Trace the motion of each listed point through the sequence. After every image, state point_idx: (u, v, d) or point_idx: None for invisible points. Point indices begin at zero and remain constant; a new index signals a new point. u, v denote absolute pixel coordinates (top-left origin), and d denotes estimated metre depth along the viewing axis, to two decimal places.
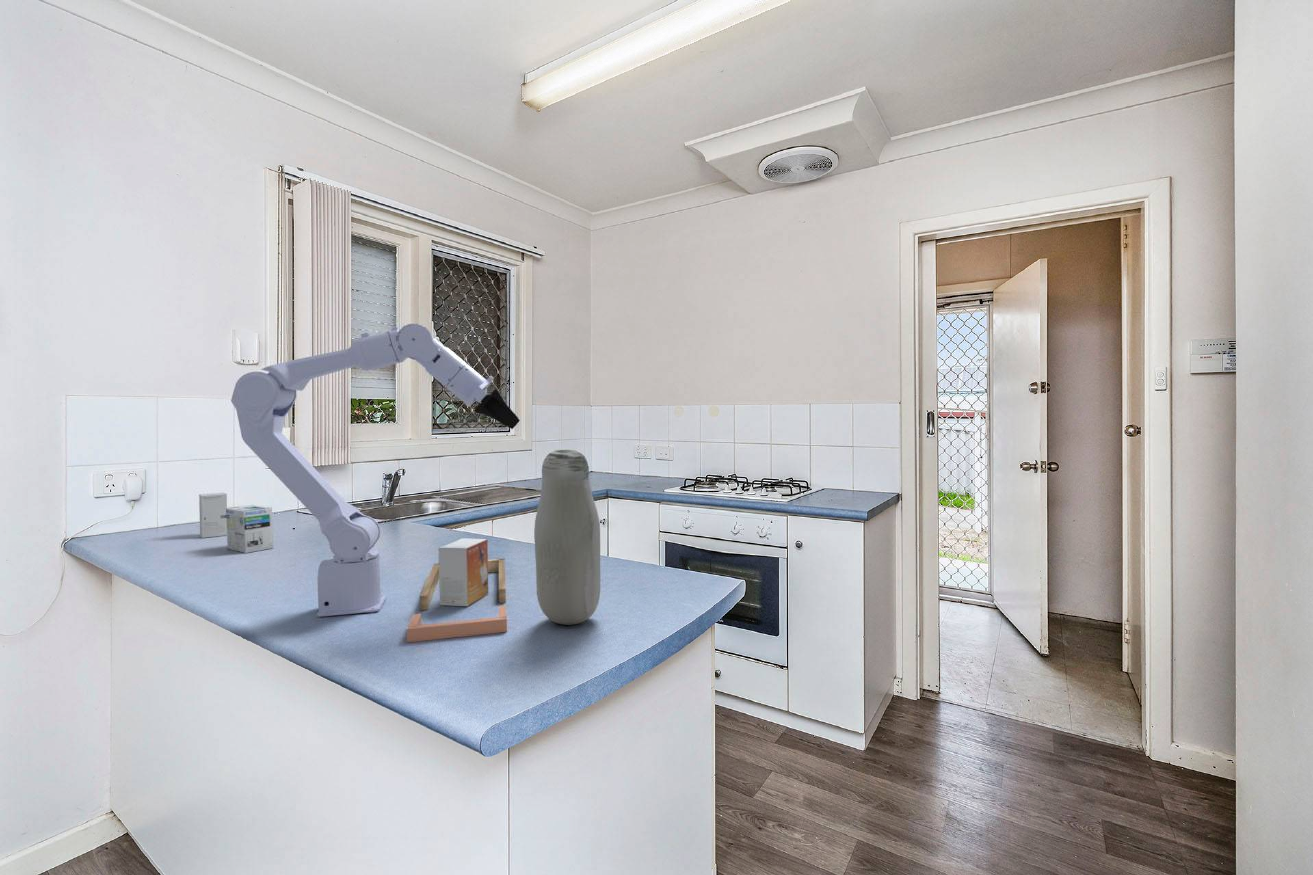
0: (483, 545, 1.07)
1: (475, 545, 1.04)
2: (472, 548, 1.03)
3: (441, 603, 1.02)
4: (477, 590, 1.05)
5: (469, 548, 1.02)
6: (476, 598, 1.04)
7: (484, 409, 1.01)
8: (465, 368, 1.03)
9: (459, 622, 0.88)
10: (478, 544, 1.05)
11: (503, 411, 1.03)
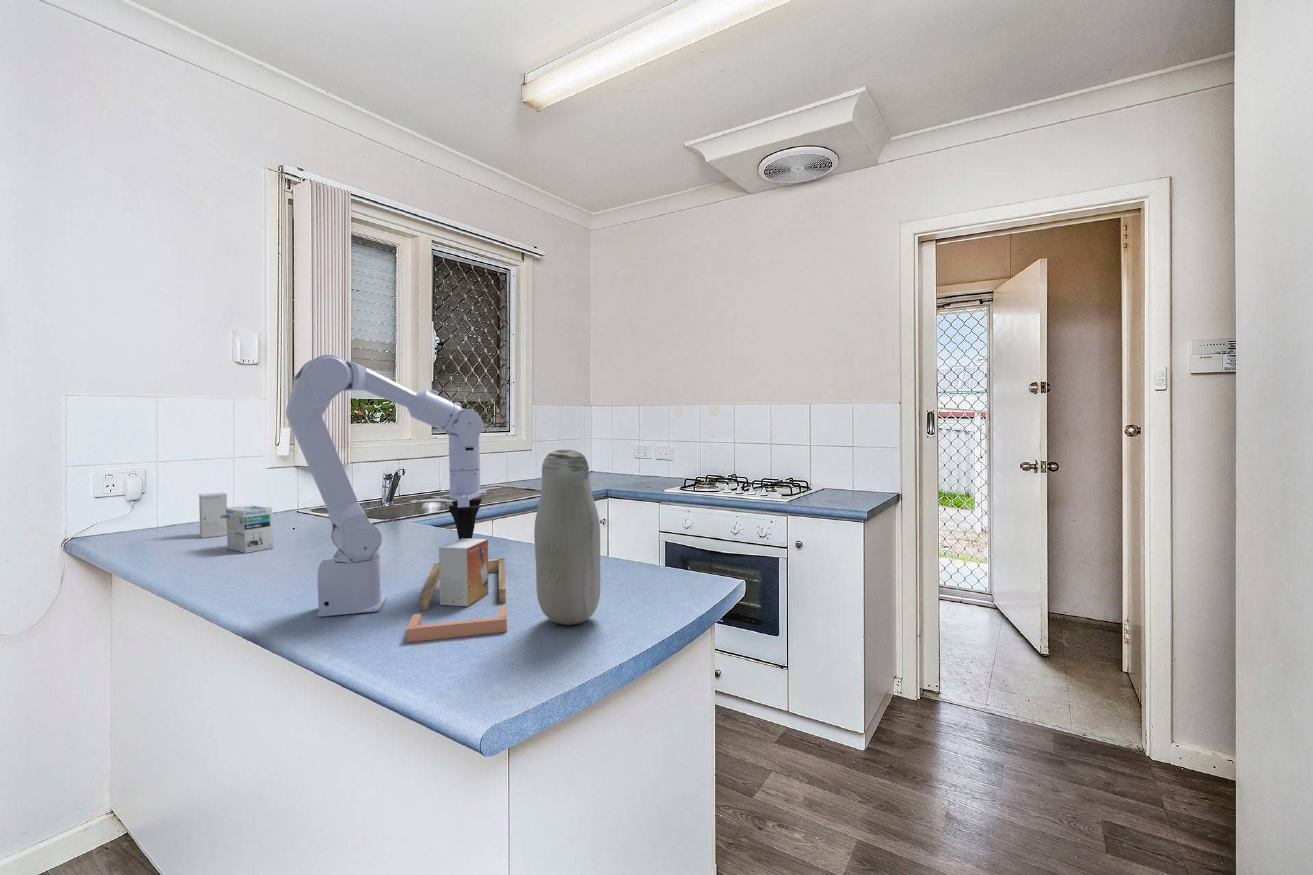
0: (484, 545, 1.07)
1: (475, 545, 1.04)
2: (473, 548, 1.03)
3: (441, 603, 1.02)
4: (477, 590, 1.05)
5: (470, 548, 1.02)
6: (476, 598, 1.04)
7: (456, 513, 1.09)
8: (474, 472, 1.12)
9: (459, 622, 0.88)
10: (478, 544, 1.05)
11: (467, 525, 1.11)
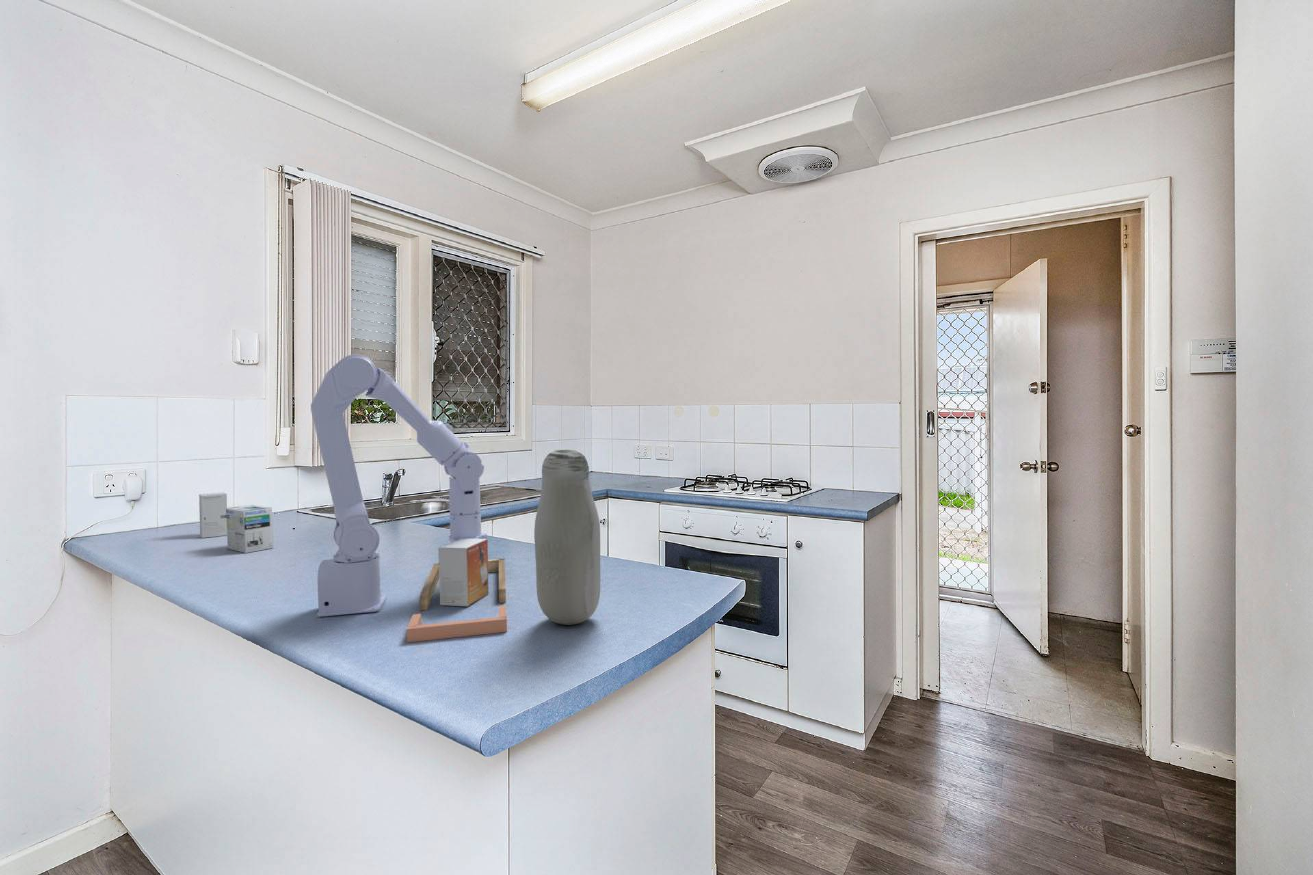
0: (483, 545, 1.07)
1: (475, 545, 1.04)
2: (473, 548, 1.03)
3: (441, 603, 1.02)
4: (477, 590, 1.05)
5: (469, 548, 1.02)
6: (476, 598, 1.04)
7: None
8: (475, 515, 1.11)
9: (459, 622, 0.88)
10: (478, 544, 1.05)
11: None
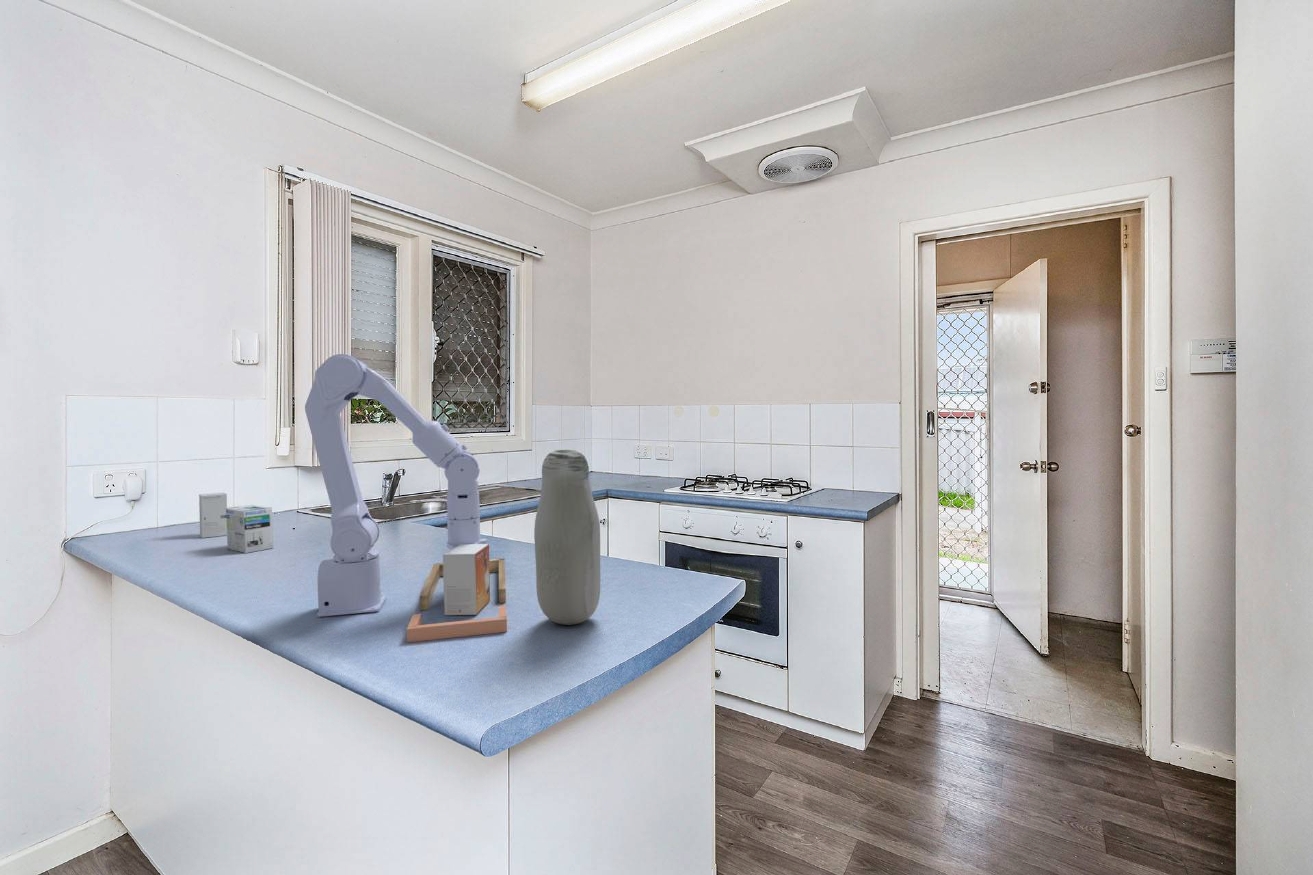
0: (486, 550, 1.03)
1: (481, 550, 1.00)
2: (479, 554, 0.99)
3: (446, 613, 0.97)
4: (482, 597, 1.00)
5: (477, 554, 0.98)
6: (482, 606, 1.00)
7: None
8: (474, 520, 1.05)
9: (459, 622, 0.88)
10: (483, 549, 1.01)
11: None
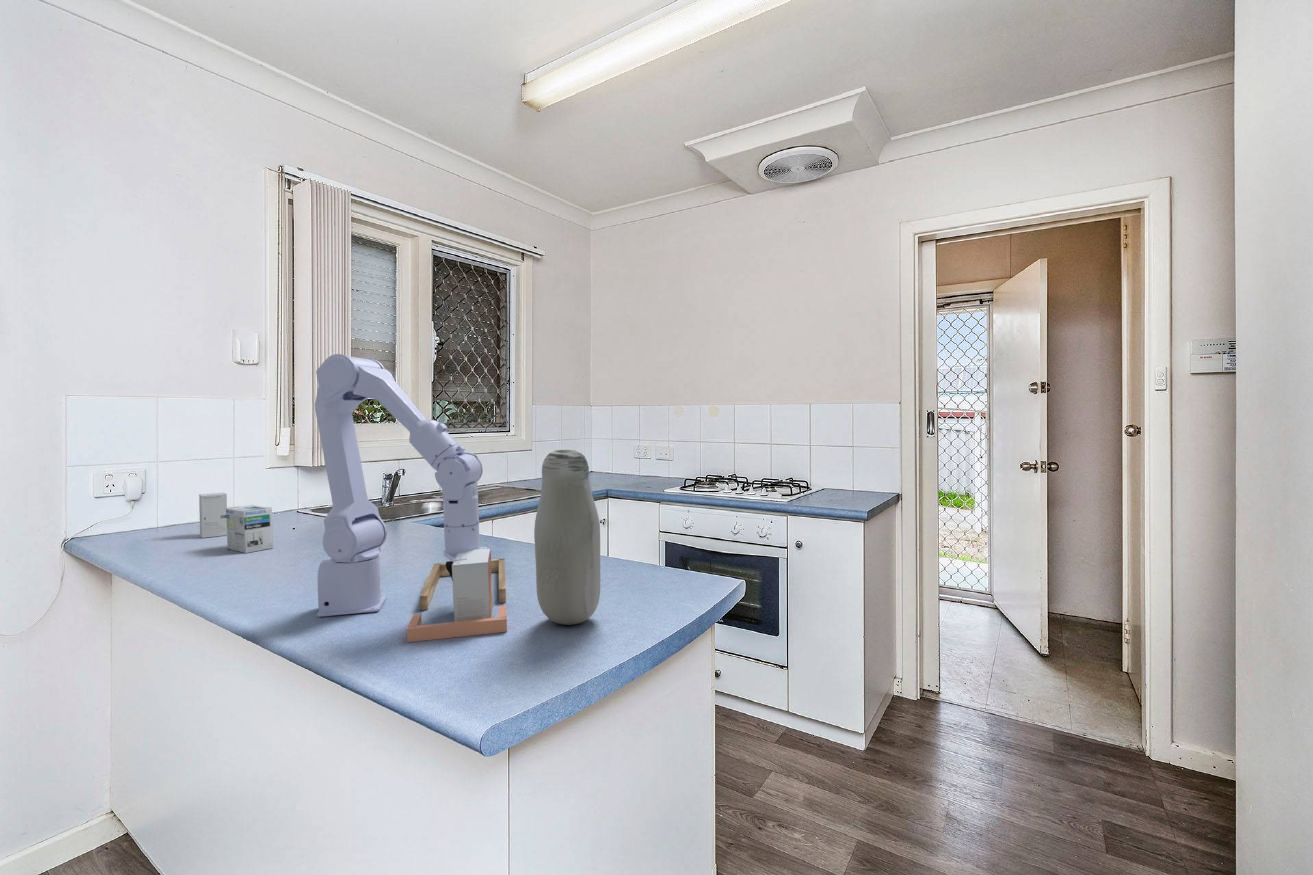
0: (490, 555, 0.97)
1: (489, 557, 0.94)
2: (489, 561, 0.93)
3: None
4: None
5: (488, 561, 0.92)
6: None
7: None
8: (473, 527, 0.98)
9: (459, 622, 0.88)
10: (489, 555, 0.95)
11: None
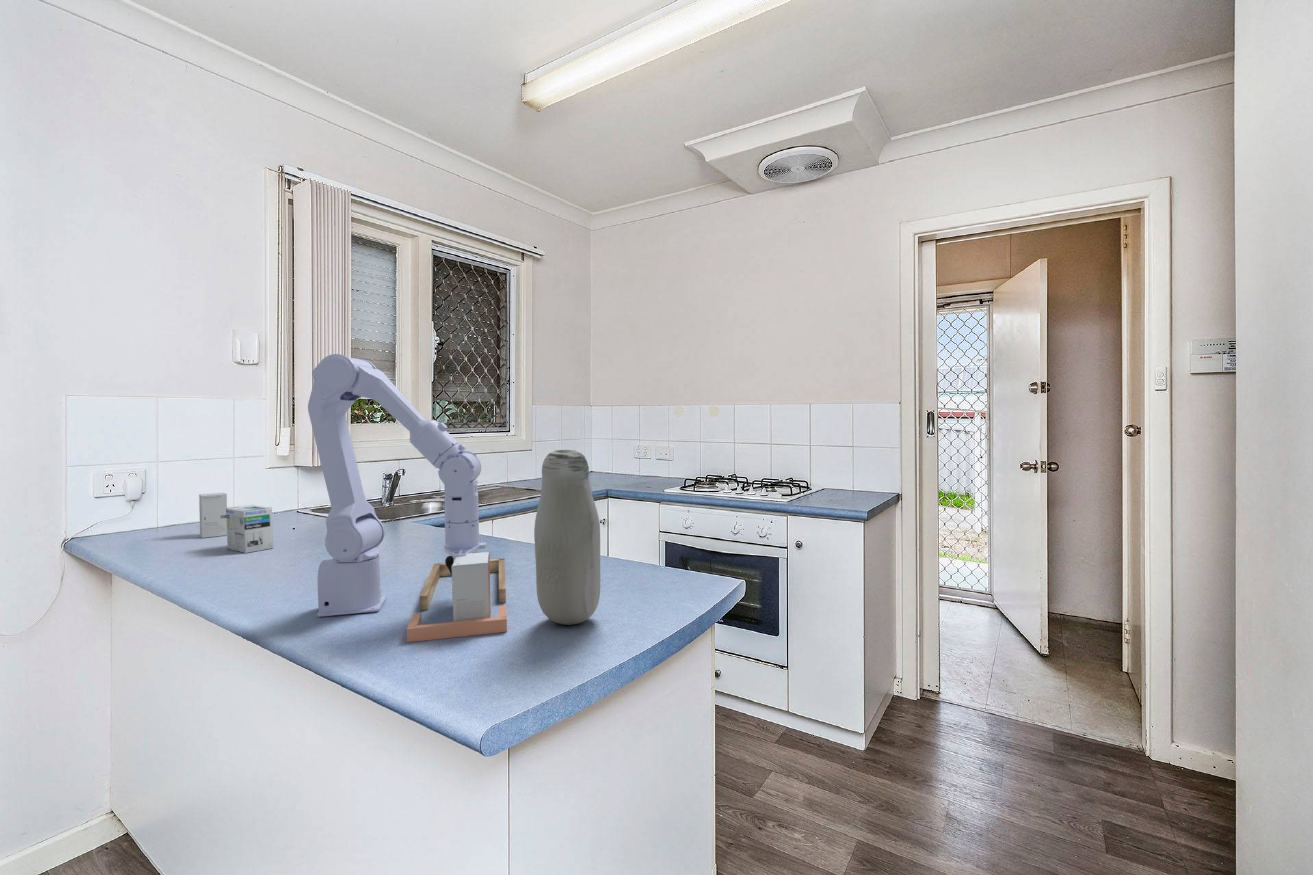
0: (489, 558, 0.97)
1: (488, 559, 0.94)
2: (488, 562, 0.93)
3: None
4: None
5: (488, 562, 0.92)
6: None
7: None
8: (473, 524, 1.01)
9: (459, 622, 0.88)
10: (488, 558, 0.95)
11: None
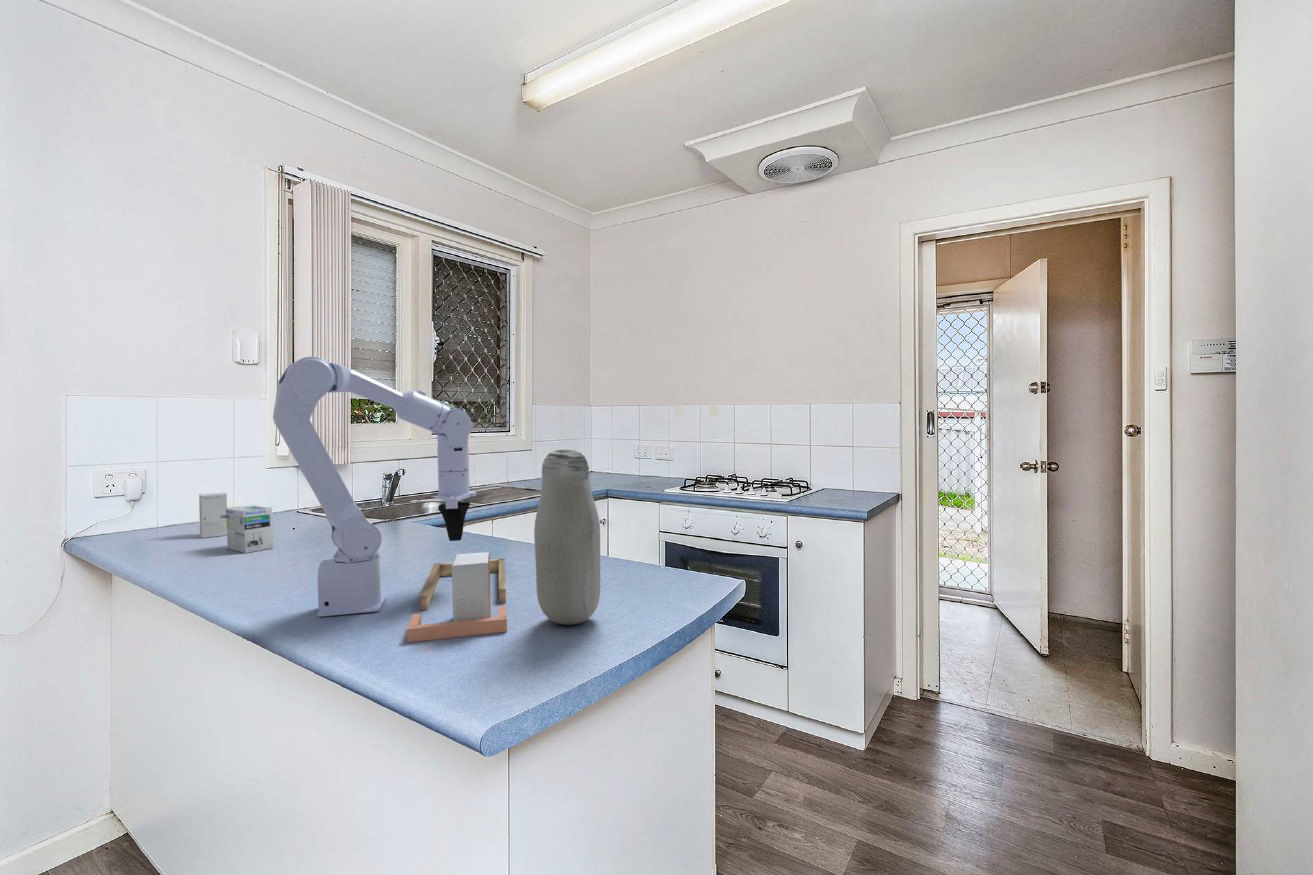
0: (489, 558, 0.97)
1: (488, 559, 0.94)
2: None
3: None
4: None
5: (488, 562, 0.92)
6: None
7: (445, 512, 1.10)
8: (463, 473, 1.11)
9: (459, 622, 0.88)
10: (489, 558, 0.95)
11: (456, 524, 1.12)
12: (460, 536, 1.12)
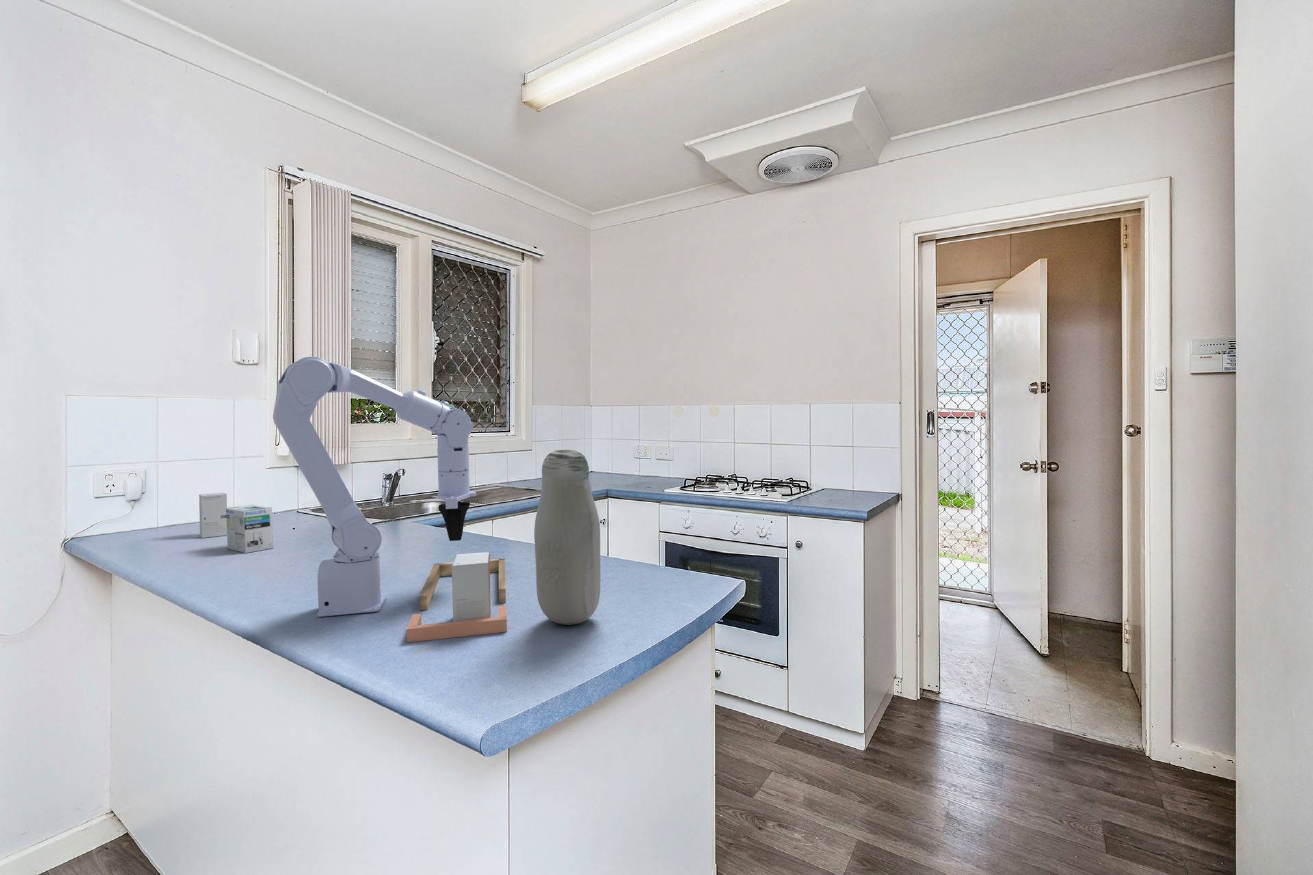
0: (489, 558, 0.97)
1: (488, 559, 0.94)
2: None
3: None
4: None
5: (488, 562, 0.92)
6: None
7: (445, 512, 1.10)
8: (463, 473, 1.11)
9: (459, 622, 0.88)
10: (489, 558, 0.95)
11: (456, 524, 1.12)
12: (460, 536, 1.12)
